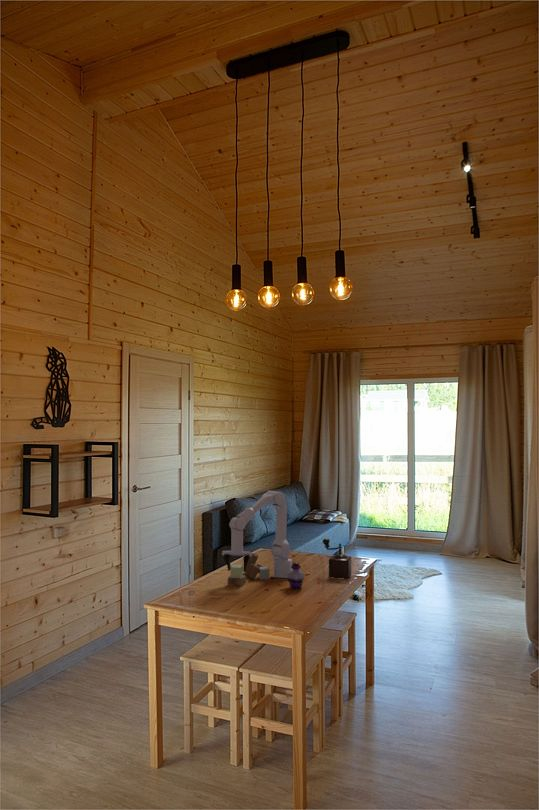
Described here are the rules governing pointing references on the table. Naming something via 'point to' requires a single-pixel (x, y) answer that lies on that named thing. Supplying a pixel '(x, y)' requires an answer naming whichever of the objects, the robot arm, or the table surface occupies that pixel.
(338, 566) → the manual coffee grinder
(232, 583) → the walnut base
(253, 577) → the wooden block set
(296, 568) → the potion bottle
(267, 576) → the slate cube
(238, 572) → the sage cube
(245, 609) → the table surface
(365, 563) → the table surface
